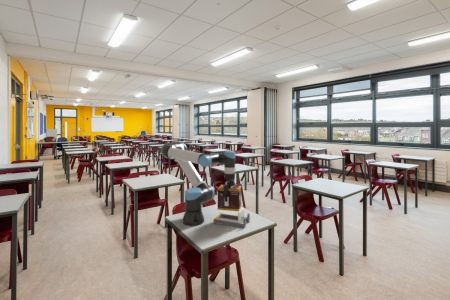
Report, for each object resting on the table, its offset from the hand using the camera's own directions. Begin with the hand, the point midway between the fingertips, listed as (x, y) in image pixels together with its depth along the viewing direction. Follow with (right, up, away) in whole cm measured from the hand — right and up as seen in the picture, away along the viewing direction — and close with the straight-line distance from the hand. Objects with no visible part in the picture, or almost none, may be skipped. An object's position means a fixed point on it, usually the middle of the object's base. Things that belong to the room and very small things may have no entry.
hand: (229, 203), depth 173 cm
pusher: (+10, -13, -3) cm, 17 cm away
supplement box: (0, -4, 0) cm, 4 cm away
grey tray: (+2, -13, +1) cm, 14 cm away
